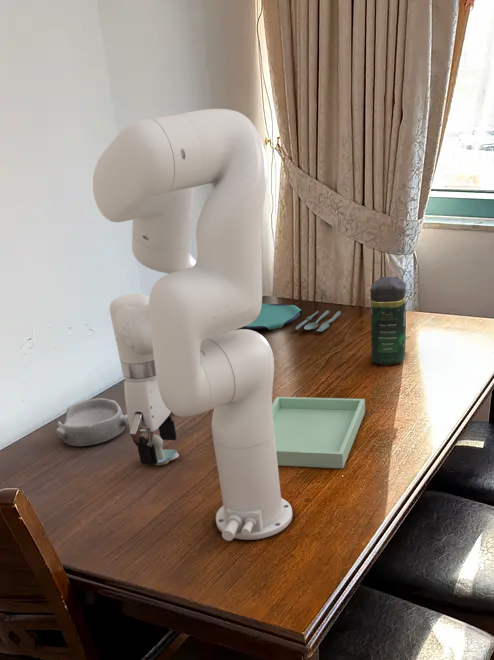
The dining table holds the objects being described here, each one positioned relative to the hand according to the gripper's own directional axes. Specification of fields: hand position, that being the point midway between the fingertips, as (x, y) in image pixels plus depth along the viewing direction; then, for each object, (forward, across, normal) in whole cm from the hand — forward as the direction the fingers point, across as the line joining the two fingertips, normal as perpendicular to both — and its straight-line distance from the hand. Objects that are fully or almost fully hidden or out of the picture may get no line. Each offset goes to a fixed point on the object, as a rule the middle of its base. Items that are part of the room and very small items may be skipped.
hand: (159, 451), depth 147 cm
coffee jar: (+2, -53, +36) cm, 64 cm away
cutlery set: (+2, -78, +3) cm, 78 cm away
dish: (+2, -10, -19) cm, 21 cm away
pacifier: (+2, 0, 0) cm, 2 cm away
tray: (+2, -12, +26) cm, 29 cm away
